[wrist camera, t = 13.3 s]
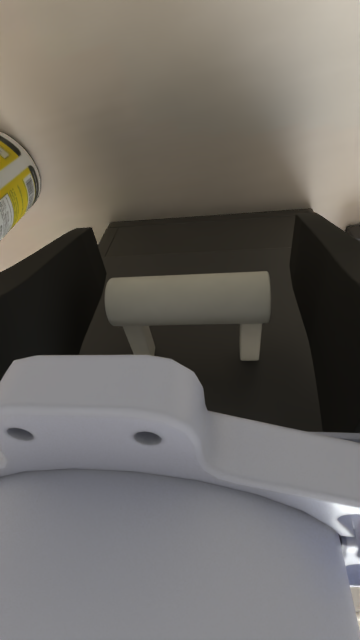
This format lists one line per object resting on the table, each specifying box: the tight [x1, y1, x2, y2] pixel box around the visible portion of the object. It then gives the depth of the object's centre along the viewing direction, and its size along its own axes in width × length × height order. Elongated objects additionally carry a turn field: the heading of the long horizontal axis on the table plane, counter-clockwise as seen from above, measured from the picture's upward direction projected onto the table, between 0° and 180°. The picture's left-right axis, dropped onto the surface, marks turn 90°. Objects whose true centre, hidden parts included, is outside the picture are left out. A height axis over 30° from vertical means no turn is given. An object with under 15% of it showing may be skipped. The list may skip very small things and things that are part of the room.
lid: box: [79, 247, 323, 432], centre depth 12 cm, size 11×13×4 cm
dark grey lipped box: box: [98, 209, 313, 257], centre depth 23 cm, size 11×13×4 cm
